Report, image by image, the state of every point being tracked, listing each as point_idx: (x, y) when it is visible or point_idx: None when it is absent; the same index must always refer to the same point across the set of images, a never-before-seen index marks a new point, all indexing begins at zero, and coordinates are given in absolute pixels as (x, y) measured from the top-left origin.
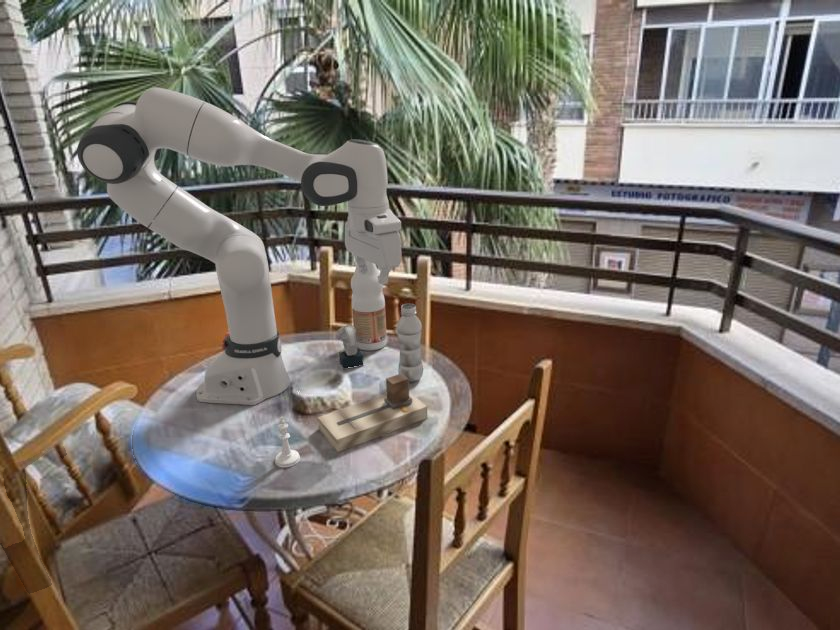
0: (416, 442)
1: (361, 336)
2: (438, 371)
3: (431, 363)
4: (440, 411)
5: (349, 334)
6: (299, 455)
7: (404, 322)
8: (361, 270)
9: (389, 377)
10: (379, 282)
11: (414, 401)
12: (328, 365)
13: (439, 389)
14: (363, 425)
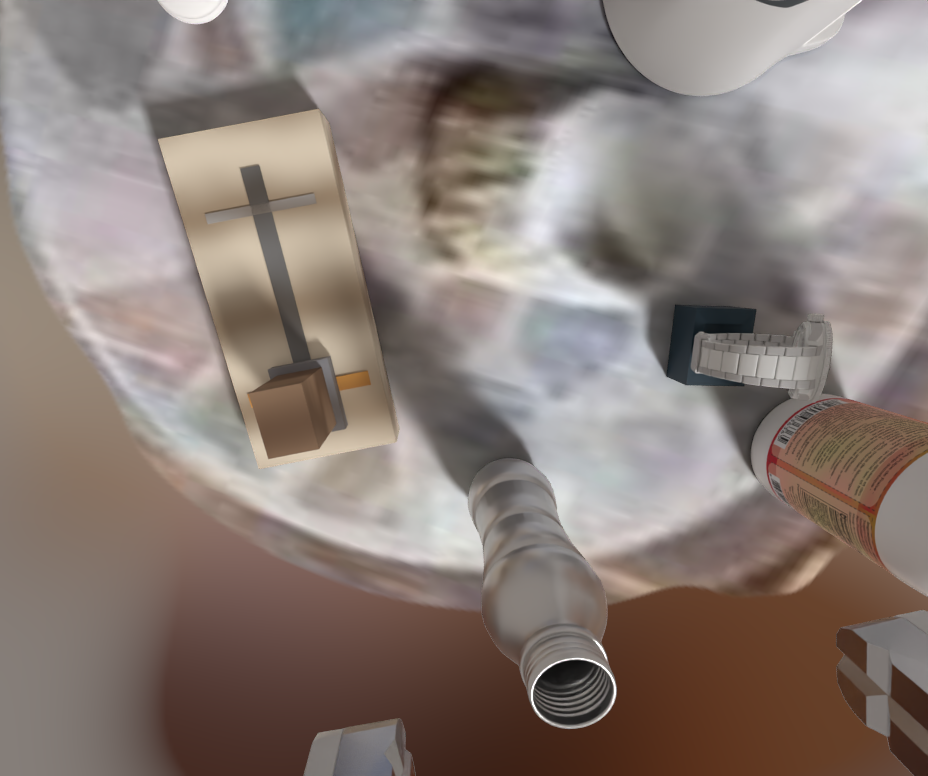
0: (162, 383)
1: (814, 421)
2: None
3: None
4: (293, 498)
5: (745, 356)
6: (198, 22)
7: (522, 604)
8: (887, 663)
9: (303, 397)
10: (355, 735)
11: None
12: (731, 262)
13: (410, 539)
14: (214, 248)
